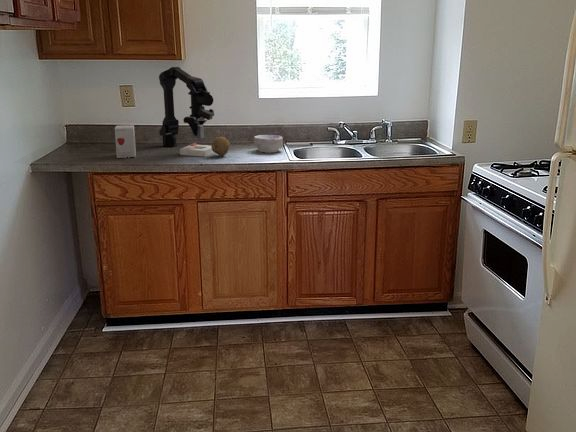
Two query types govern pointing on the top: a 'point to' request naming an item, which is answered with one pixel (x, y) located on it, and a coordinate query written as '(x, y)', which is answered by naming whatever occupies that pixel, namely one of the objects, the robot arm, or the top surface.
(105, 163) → the top surface
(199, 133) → the plug
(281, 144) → the white bowl
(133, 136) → the supplement box
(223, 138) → the natural sponge
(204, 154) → the socket plate
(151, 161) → the top surface
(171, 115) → the robot arm
